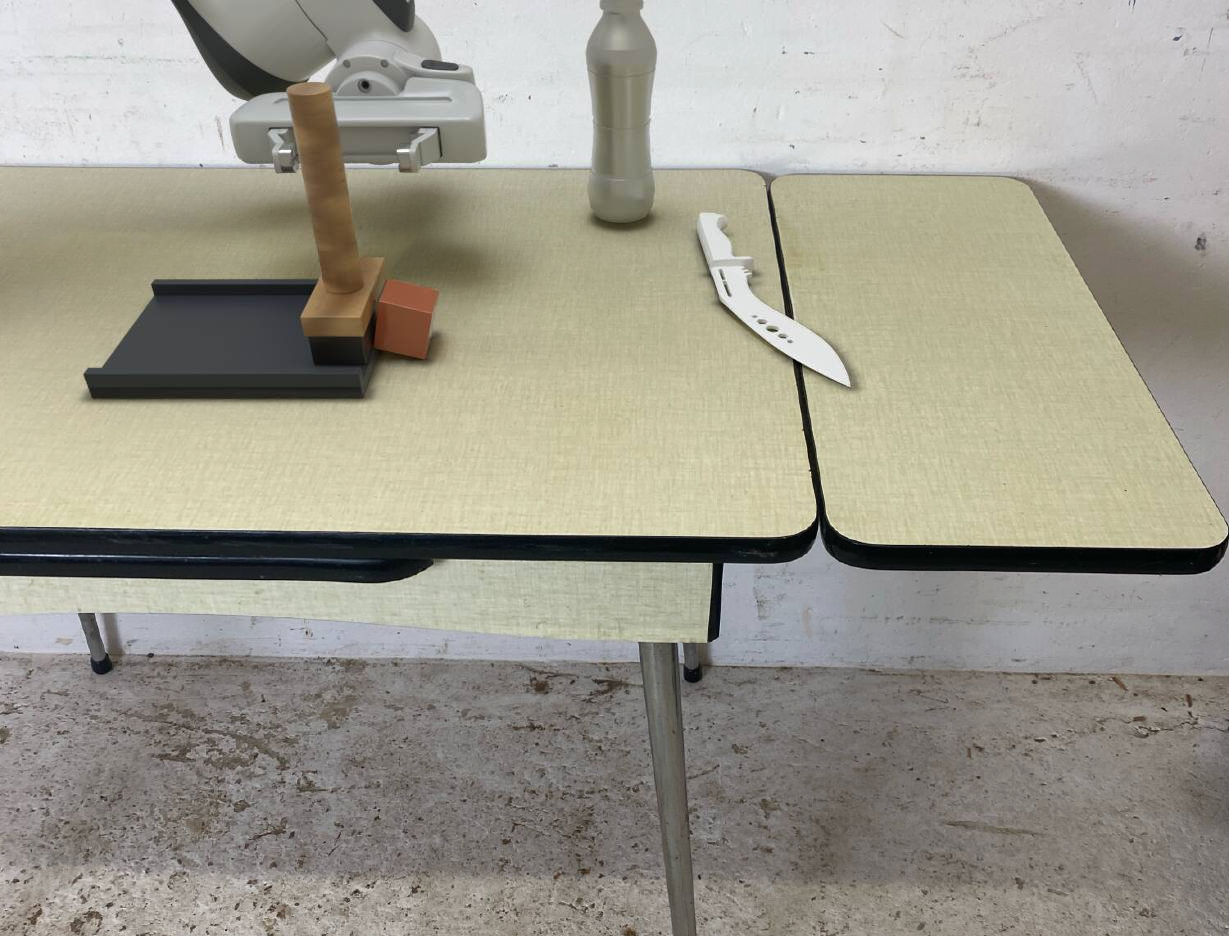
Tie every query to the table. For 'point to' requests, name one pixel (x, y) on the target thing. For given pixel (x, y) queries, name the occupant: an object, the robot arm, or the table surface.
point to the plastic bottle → (621, 112)
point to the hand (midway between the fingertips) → (345, 162)
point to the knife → (752, 310)
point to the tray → (224, 345)
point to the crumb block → (405, 318)
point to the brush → (333, 237)
